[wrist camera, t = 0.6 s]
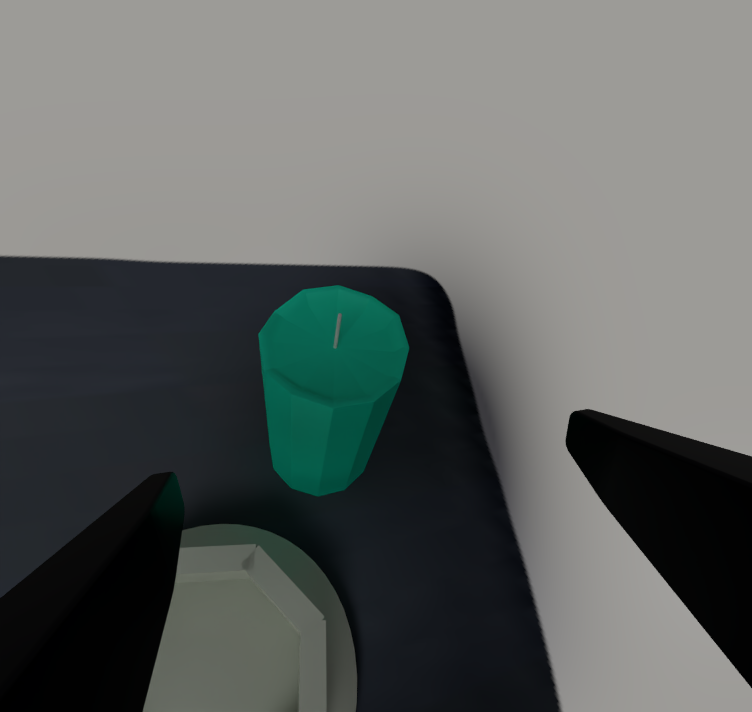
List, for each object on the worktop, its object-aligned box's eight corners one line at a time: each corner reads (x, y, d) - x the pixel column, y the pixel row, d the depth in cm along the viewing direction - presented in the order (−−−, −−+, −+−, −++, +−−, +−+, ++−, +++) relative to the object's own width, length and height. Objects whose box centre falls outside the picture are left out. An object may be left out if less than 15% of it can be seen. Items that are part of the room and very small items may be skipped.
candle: (340, 388, 27) (368, 244, 17) (388, 466, 25) (451, 347, 15) (253, 425, 25) (229, 281, 15) (296, 516, 22) (300, 412, 12)
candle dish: (363, 901, 15) (379, 959, 12) (-60, 990, 12) (-162, 1089, 10) (348, 523, 22) (356, 504, 19) (82, 534, 20) (48, 515, 17)
